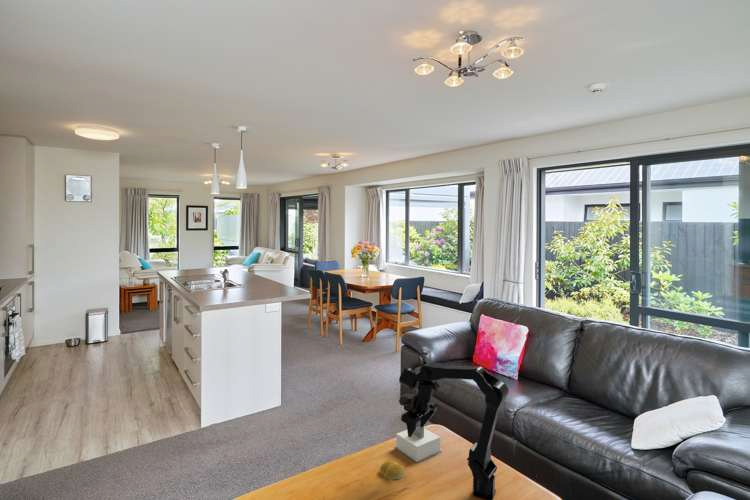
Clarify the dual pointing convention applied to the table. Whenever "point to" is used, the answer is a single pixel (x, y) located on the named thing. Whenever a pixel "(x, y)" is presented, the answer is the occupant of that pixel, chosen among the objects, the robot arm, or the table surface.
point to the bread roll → (392, 470)
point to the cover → (418, 443)
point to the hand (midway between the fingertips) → (415, 431)
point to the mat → (420, 460)
